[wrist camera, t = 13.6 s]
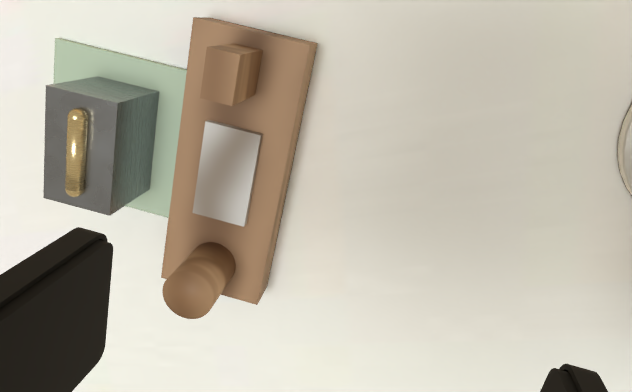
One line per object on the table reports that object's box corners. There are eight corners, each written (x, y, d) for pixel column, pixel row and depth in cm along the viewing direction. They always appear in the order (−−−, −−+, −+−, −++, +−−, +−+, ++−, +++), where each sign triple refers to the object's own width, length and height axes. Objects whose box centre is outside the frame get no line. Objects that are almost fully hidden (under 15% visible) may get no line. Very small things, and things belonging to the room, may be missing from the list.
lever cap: (159, 91, 39) (110, 105, 32) (149, 189, 41) (102, 220, 35) (97, 76, 39) (36, 87, 33) (92, 174, 42) (35, 202, 35)
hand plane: (317, 43, 36) (294, 49, 29) (266, 286, 43) (237, 341, 36) (209, 17, 37) (159, 16, 29) (177, 261, 44) (129, 310, 36)
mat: (208, 75, 38) (206, 75, 38) (188, 220, 42) (185, 222, 42) (59, 38, 39) (55, 38, 39) (53, 183, 43) (50, 185, 43)
